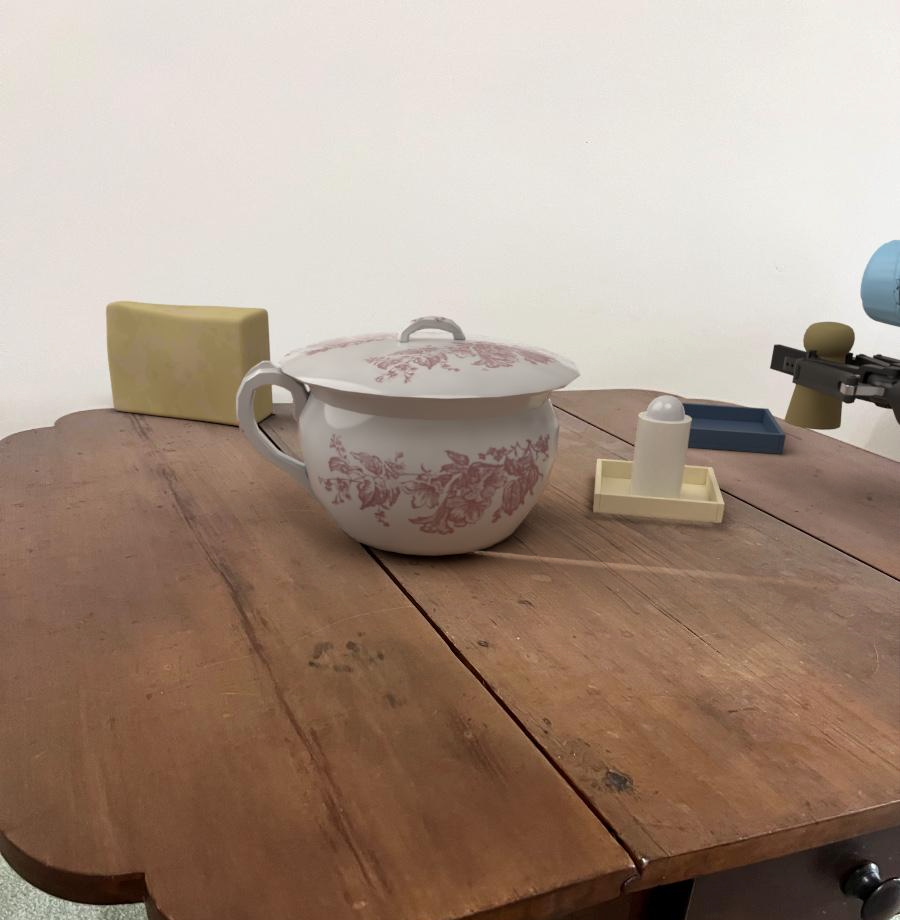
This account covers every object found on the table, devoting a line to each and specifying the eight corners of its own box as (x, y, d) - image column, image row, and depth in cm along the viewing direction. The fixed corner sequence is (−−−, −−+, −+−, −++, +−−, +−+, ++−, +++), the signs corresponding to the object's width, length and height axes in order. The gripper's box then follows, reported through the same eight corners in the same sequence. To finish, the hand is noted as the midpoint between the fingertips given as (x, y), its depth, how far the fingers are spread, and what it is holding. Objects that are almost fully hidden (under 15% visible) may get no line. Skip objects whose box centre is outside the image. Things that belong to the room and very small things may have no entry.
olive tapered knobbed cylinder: (805, 430, 101) (825, 327, 96) (773, 417, 106) (791, 318, 101) (852, 428, 102) (874, 326, 98) (818, 415, 107) (838, 318, 103)
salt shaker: (678, 491, 104) (692, 392, 99) (681, 507, 99) (697, 403, 94) (628, 487, 104) (640, 388, 100) (629, 503, 99) (641, 399, 94)
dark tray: (765, 426, 135) (768, 408, 134) (782, 454, 121) (785, 435, 120) (660, 418, 137) (662, 401, 136) (665, 445, 123) (667, 426, 122)
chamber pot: (611, 523, 95) (634, 315, 86) (470, 617, 74) (482, 356, 65) (393, 472, 109) (394, 288, 100) (222, 539, 88) (204, 314, 79)
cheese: (98, 418, 127) (83, 305, 120) (132, 402, 135) (119, 296, 129) (251, 430, 123) (244, 314, 117) (275, 413, 132) (270, 304, 126)
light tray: (709, 488, 107) (712, 467, 106) (720, 527, 95) (724, 504, 94) (594, 479, 108) (597, 458, 107) (592, 517, 97) (594, 493, 96)
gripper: (872, 447, 85) (723, 391, 105) (1010, 435, 90) (844, 384, 110) (891, 365, 82) (734, 324, 102) (1033, 358, 87) (858, 320, 107)
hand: (792, 355), depth 106 cm, fingers closed on olive tapered knobbed cylinder, 4 cm apart
